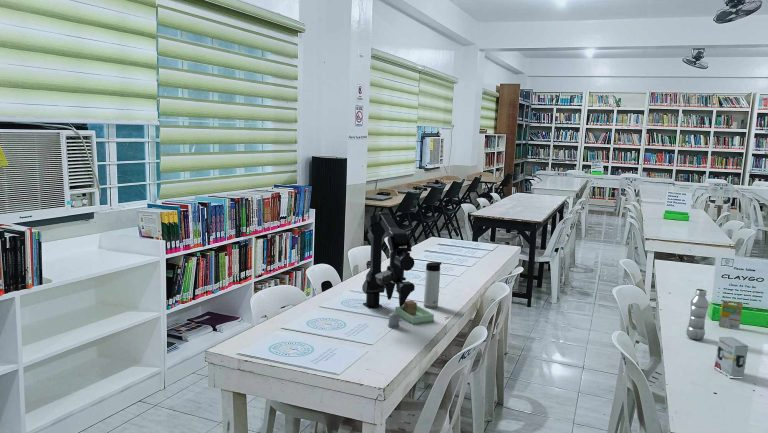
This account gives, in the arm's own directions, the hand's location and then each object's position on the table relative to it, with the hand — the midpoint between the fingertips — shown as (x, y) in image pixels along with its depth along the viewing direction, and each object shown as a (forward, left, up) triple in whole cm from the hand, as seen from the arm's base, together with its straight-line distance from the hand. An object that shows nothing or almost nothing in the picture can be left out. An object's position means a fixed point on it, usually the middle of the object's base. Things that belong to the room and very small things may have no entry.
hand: (395, 303), depth 225 cm
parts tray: (-6, +13, -10) cm, 17 cm away
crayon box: (+53, +134, -10) cm, 144 cm away
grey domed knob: (0, 0, -10) cm, 10 cm away
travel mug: (-16, +28, -10) cm, 34 cm away
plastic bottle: (+56, +106, -10) cm, 120 cm away
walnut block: (-9, +13, -9) cm, 18 cm away
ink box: (+82, +85, -10) cm, 119 cm away
